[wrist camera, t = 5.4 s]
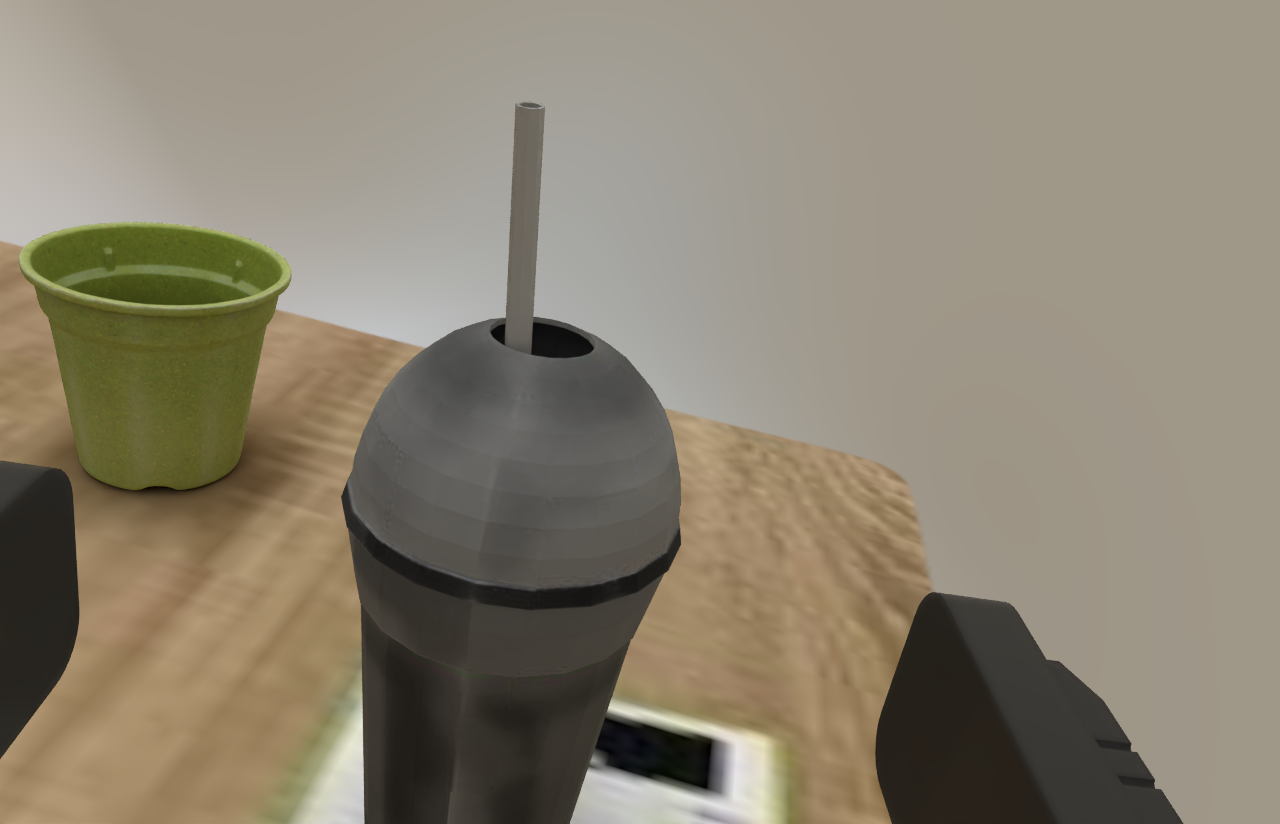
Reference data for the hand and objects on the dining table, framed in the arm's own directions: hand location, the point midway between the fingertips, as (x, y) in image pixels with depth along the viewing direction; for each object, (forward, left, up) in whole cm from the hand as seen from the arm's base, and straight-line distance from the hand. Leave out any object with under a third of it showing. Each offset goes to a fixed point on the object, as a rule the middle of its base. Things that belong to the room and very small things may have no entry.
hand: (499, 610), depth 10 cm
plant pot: (+11, +32, -17) cm, 38 cm away
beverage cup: (+8, +8, -17) cm, 20 cm away
